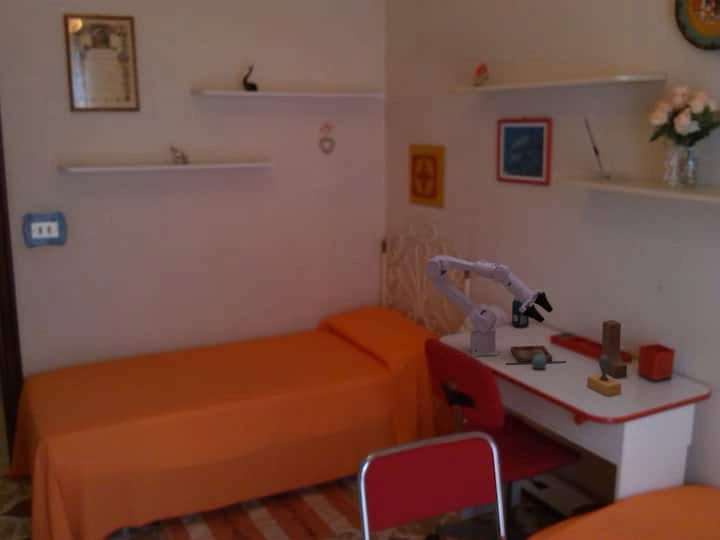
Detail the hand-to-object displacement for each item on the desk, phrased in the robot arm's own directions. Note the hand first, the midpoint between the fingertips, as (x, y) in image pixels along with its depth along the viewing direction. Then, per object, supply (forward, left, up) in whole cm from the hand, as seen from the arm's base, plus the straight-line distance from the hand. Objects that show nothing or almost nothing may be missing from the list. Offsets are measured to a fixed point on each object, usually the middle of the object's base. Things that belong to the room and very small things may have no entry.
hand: (547, 316), depth 258 cm
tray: (-5, +4, -17) cm, 18 cm away
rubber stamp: (+11, -31, -17) cm, 37 cm away
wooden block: (+19, -17, -17) cm, 30 cm away
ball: (-5, -9, -14) cm, 17 cm away
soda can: (-1, +41, -17) cm, 45 cm away
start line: (-5, -4, -17) cm, 18 cm away
